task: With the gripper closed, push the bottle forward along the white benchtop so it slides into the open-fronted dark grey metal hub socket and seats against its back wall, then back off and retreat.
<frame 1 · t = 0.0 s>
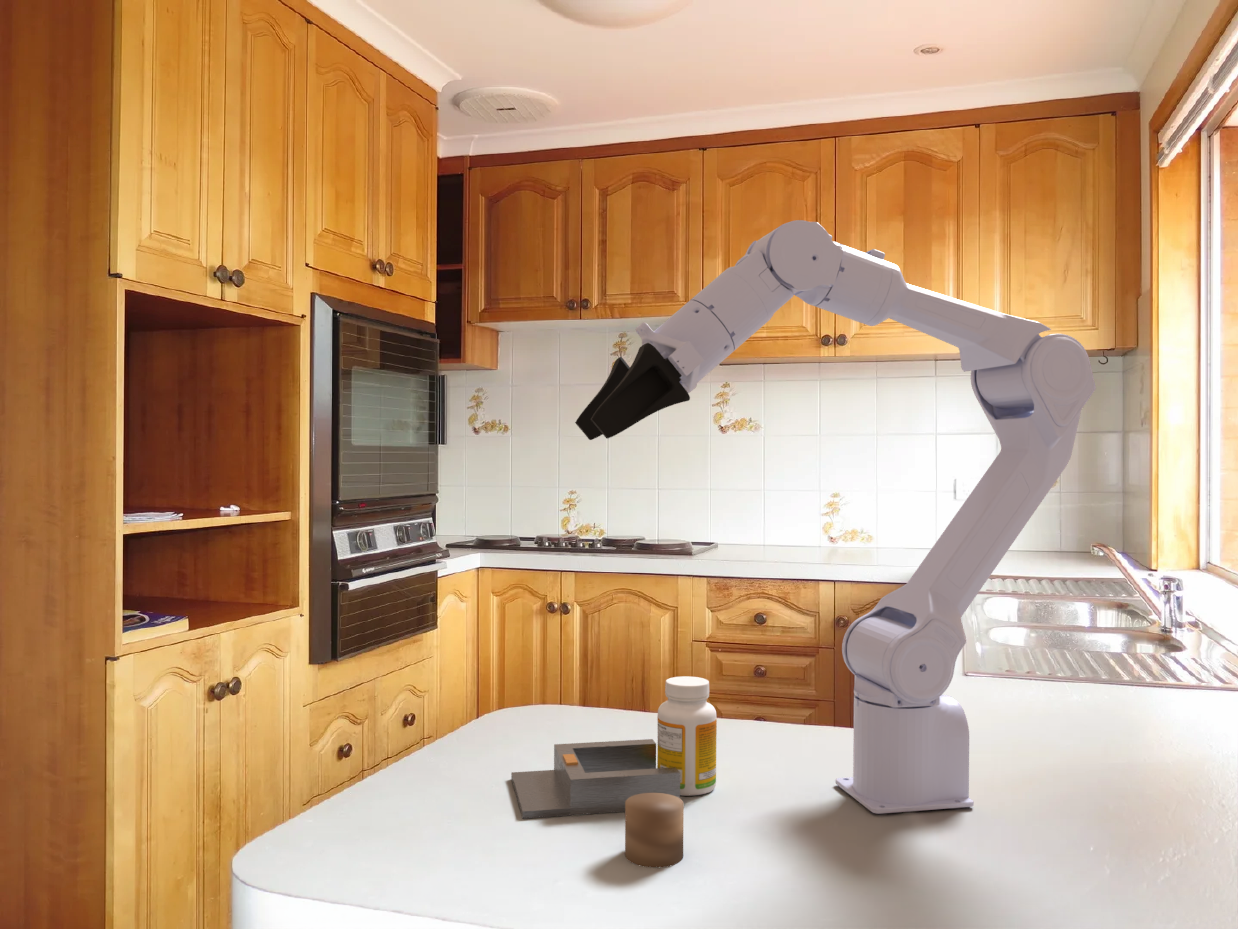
hand: (590, 430, 79), 32 cm above the worktop, tool tilted 50°, fingers open, 7 cm apart
supplement bottle: (686, 789, 87), on the worktop
hub socket: (616, 791, 86), on the worktop
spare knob: (654, 855, 72), on the worktop
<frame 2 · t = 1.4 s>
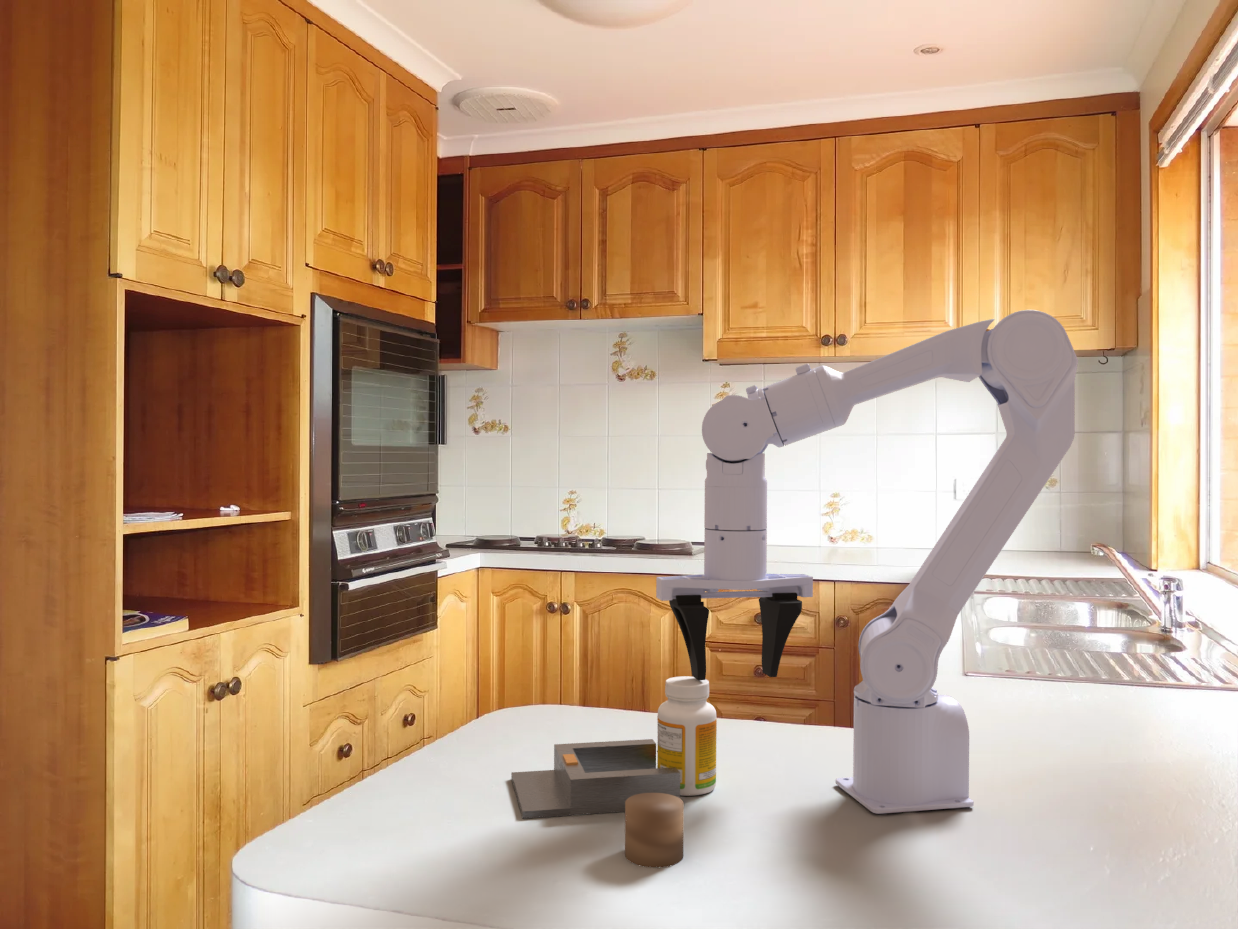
hand: (734, 676, 88), 10 cm above the worktop, tool pointing down, fingers open, 6 cm apart
nothing on the worktop moved.
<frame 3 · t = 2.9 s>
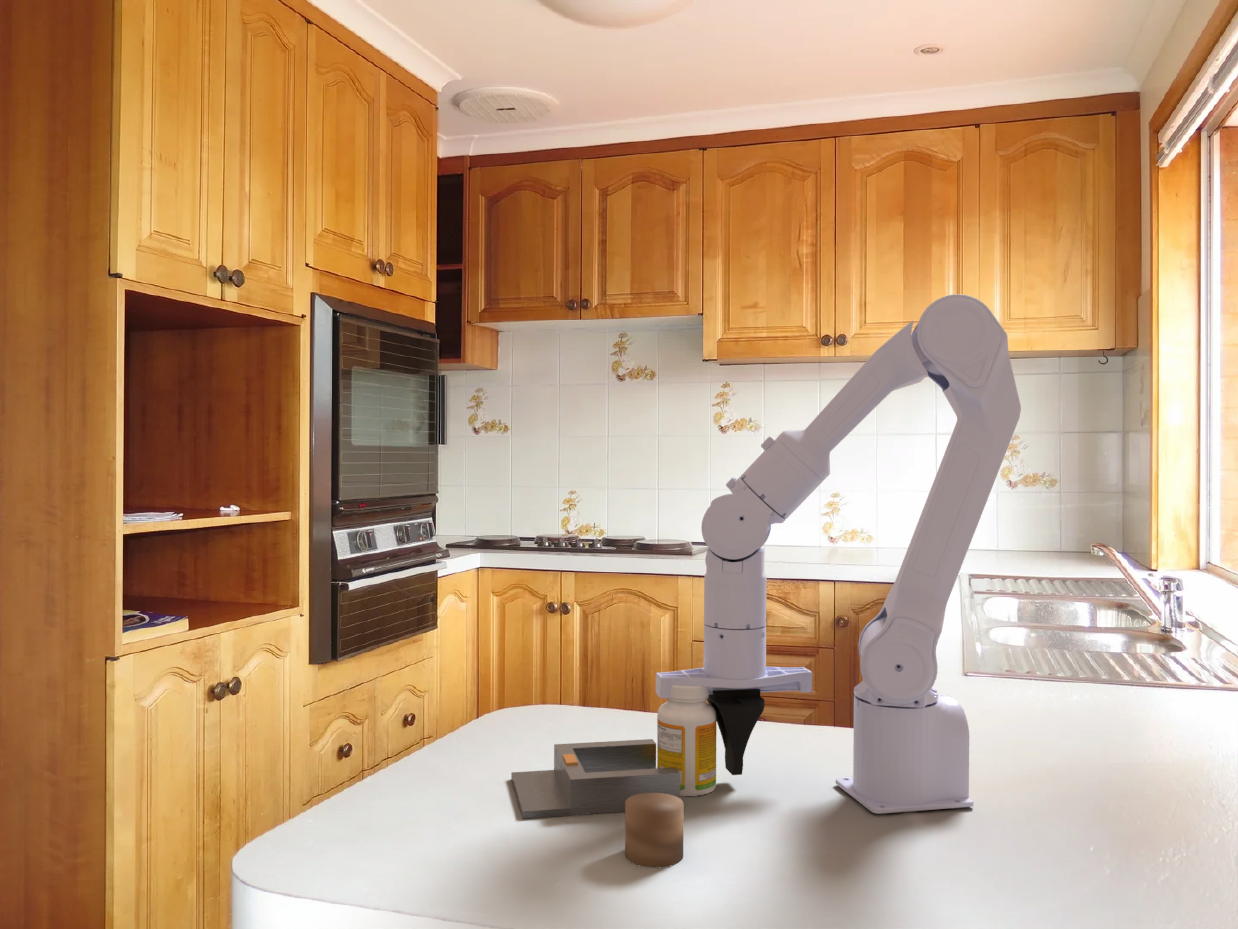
hand: (733, 771, 88), 1 cm above the worktop, tool pointing down, fingers closed
supplement bottle: (686, 790, 87), on the worktop, touching gripper
everything else where it was.
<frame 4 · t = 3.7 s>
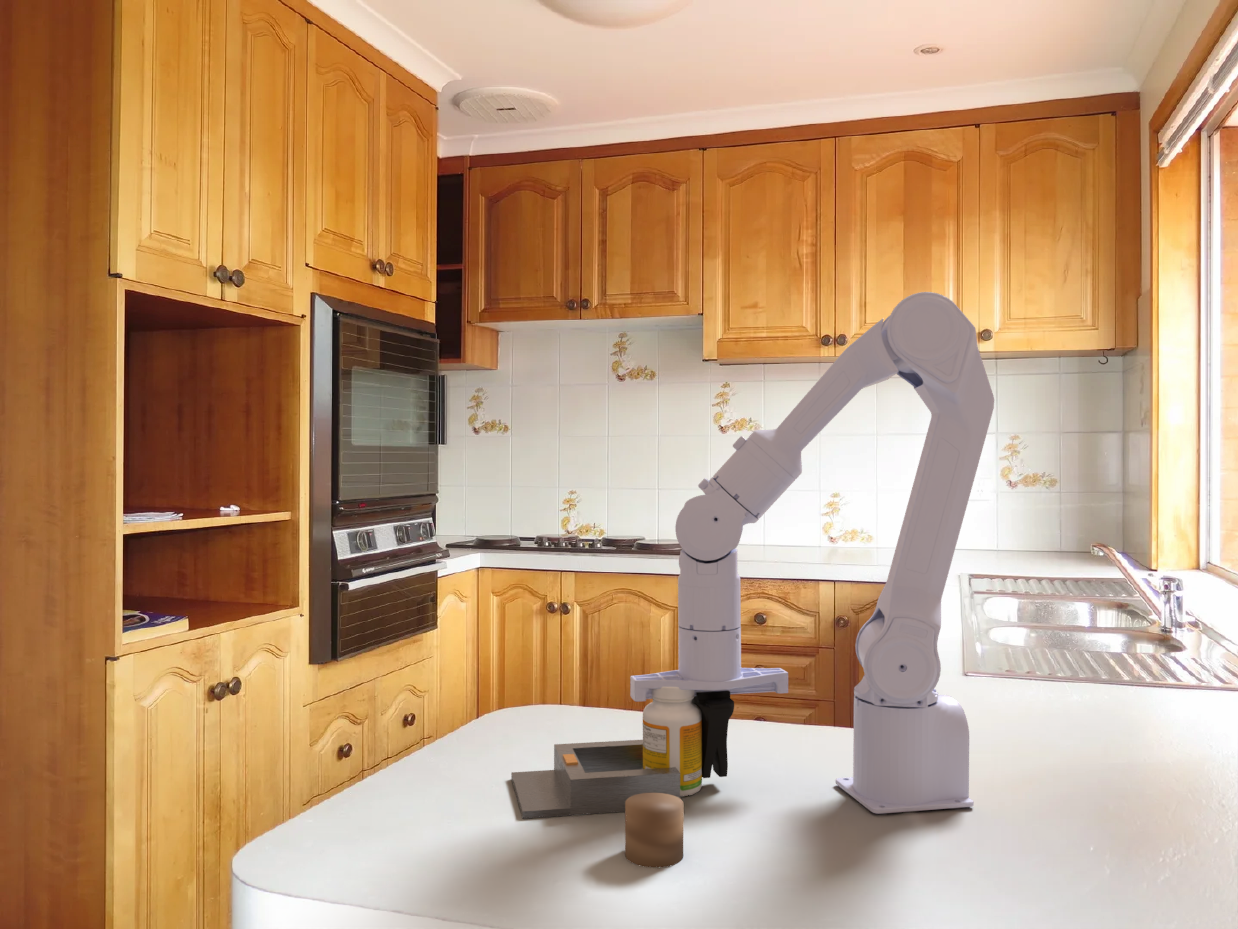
hand: (710, 774, 88), 1 cm above the worktop, tool pointing down, fingers closed, pressing on supplement bottle
supplement bottle: (672, 790, 87), on the worktop, touching gripper
everything else where it was.
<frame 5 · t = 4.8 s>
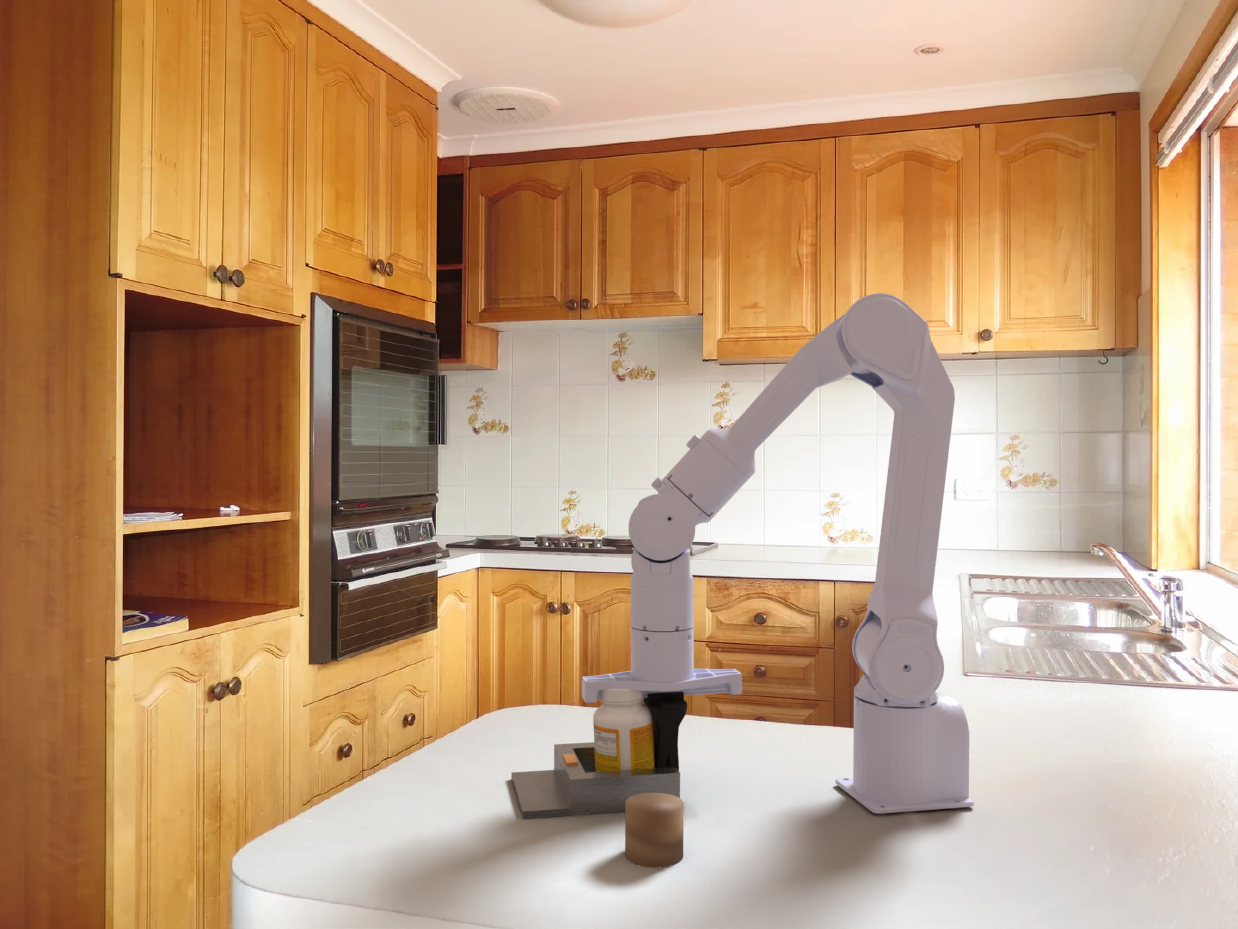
hand: (662, 776, 87), 1 cm above the worktop, tool pointing down, fingers closed, pressing on supplement bottle
supplement bottle: (626, 793, 86), on the worktop, touching gripper
everything else where it was.
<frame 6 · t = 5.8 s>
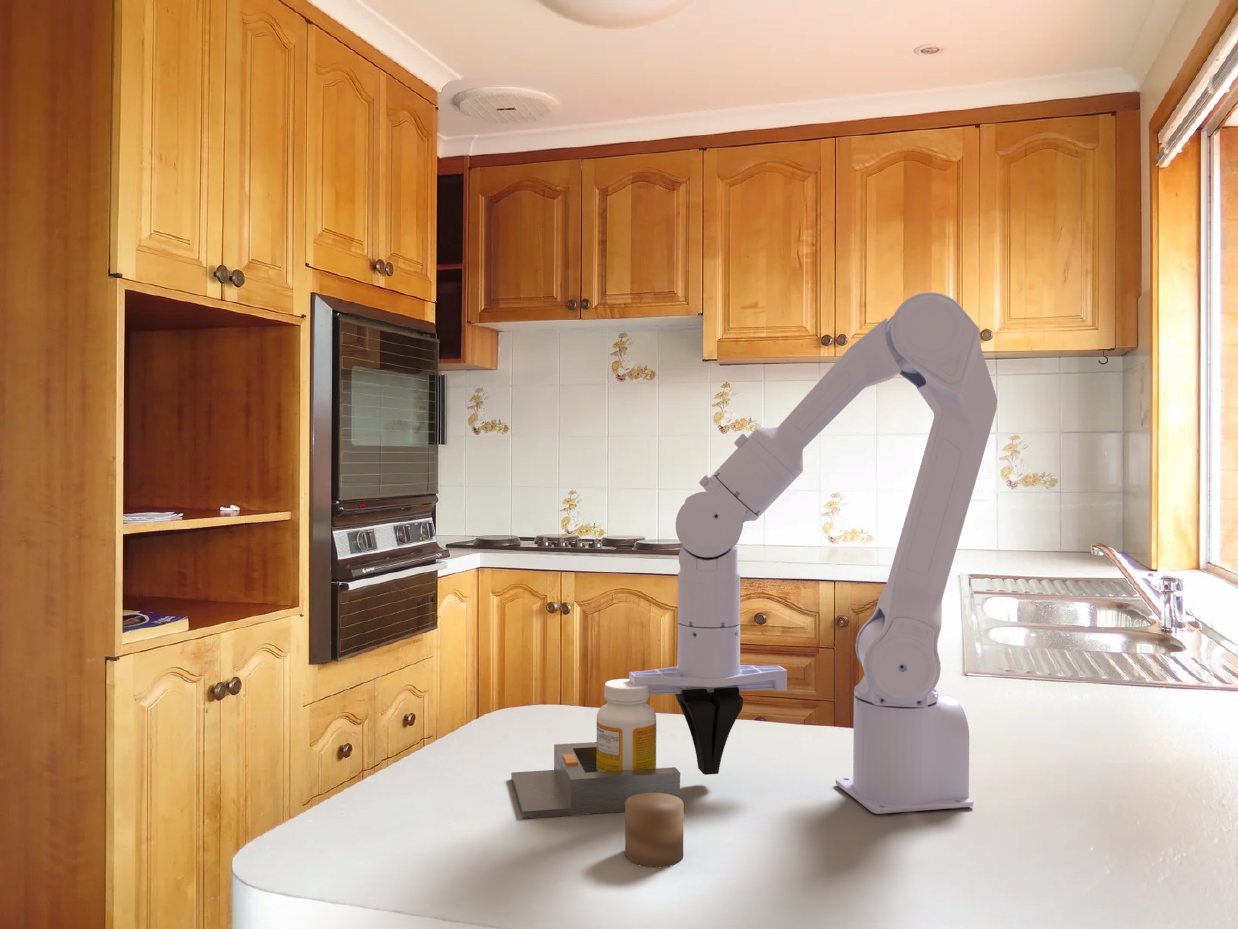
hand: (708, 771, 88), 1 cm above the worktop, tool pointing down, fingers closed
supplement bottle: (625, 793, 86), on the worktop
everything else where it was.
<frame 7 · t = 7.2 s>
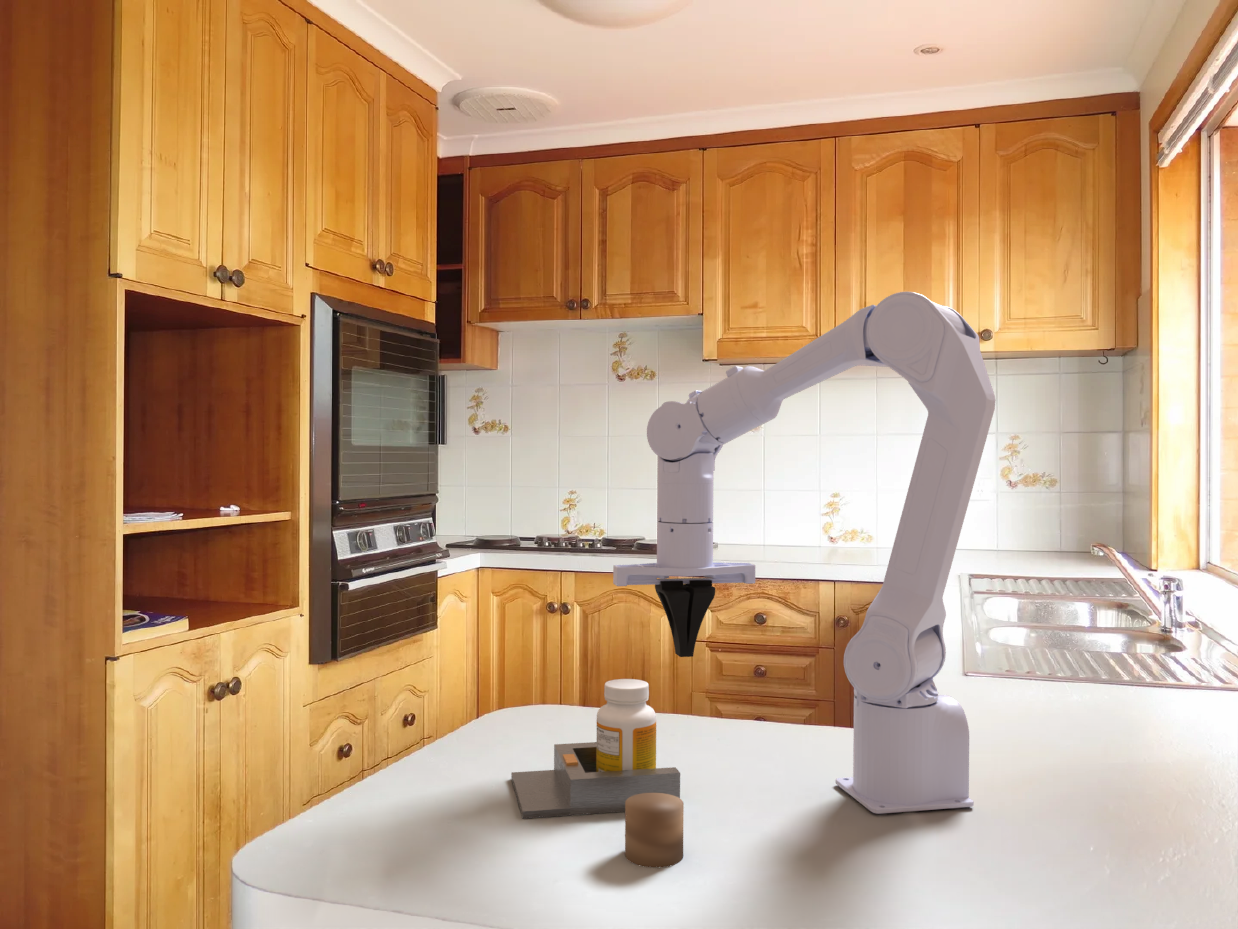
hand: (684, 655, 98), 10 cm above the worktop, tool pointing down, fingers closed
nothing on the worktop moved.
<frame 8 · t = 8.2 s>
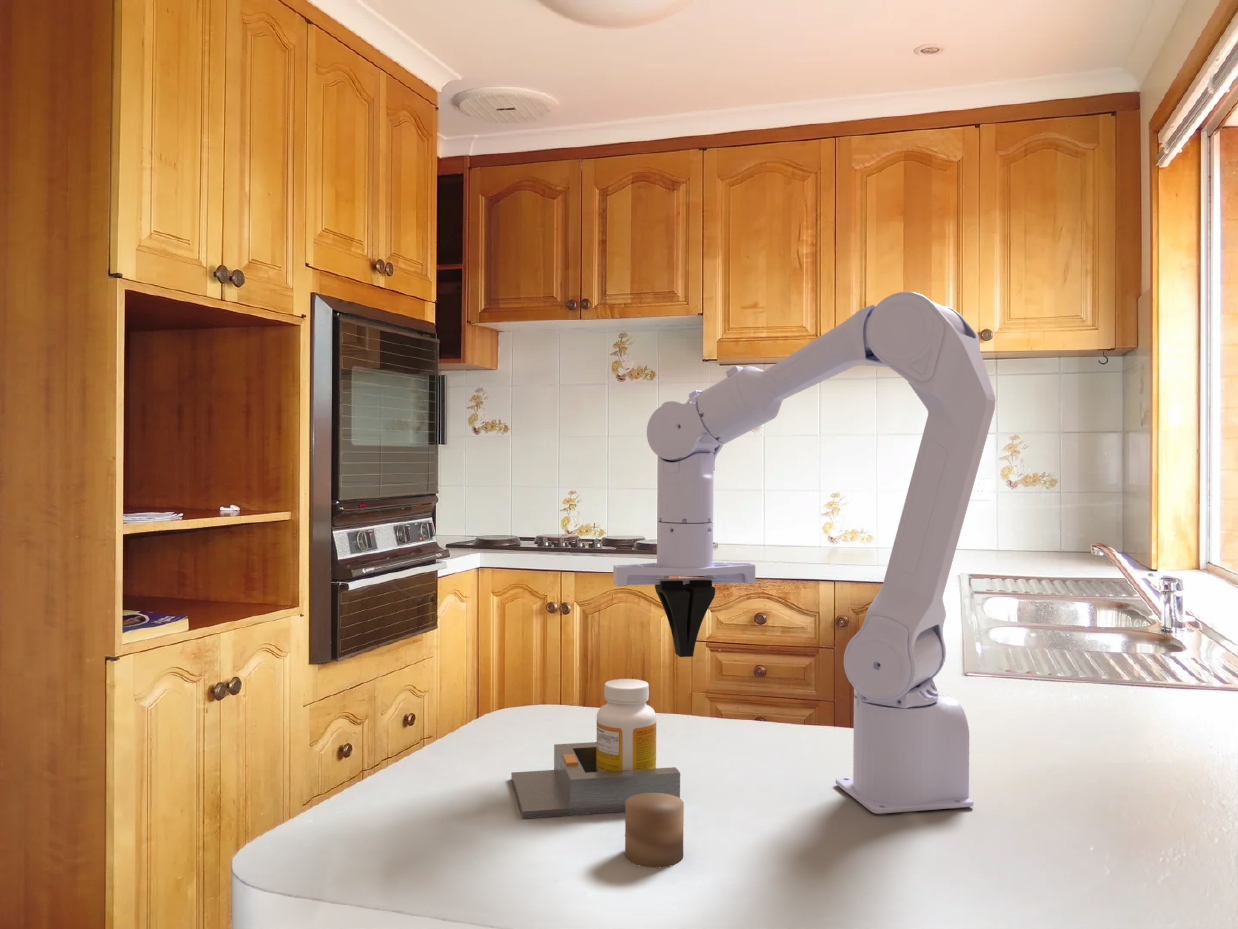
hand: (684, 655, 98), 10 cm above the worktop, tool pointing down, fingers closed
nothing on the worktop moved.
at the end: supplement bottle 0.6 cm off-centre on the hub socket, point 0.0 cm above the hub socket's base; supplement bottle tilted 0°; supplement bottle touching worktop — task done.
